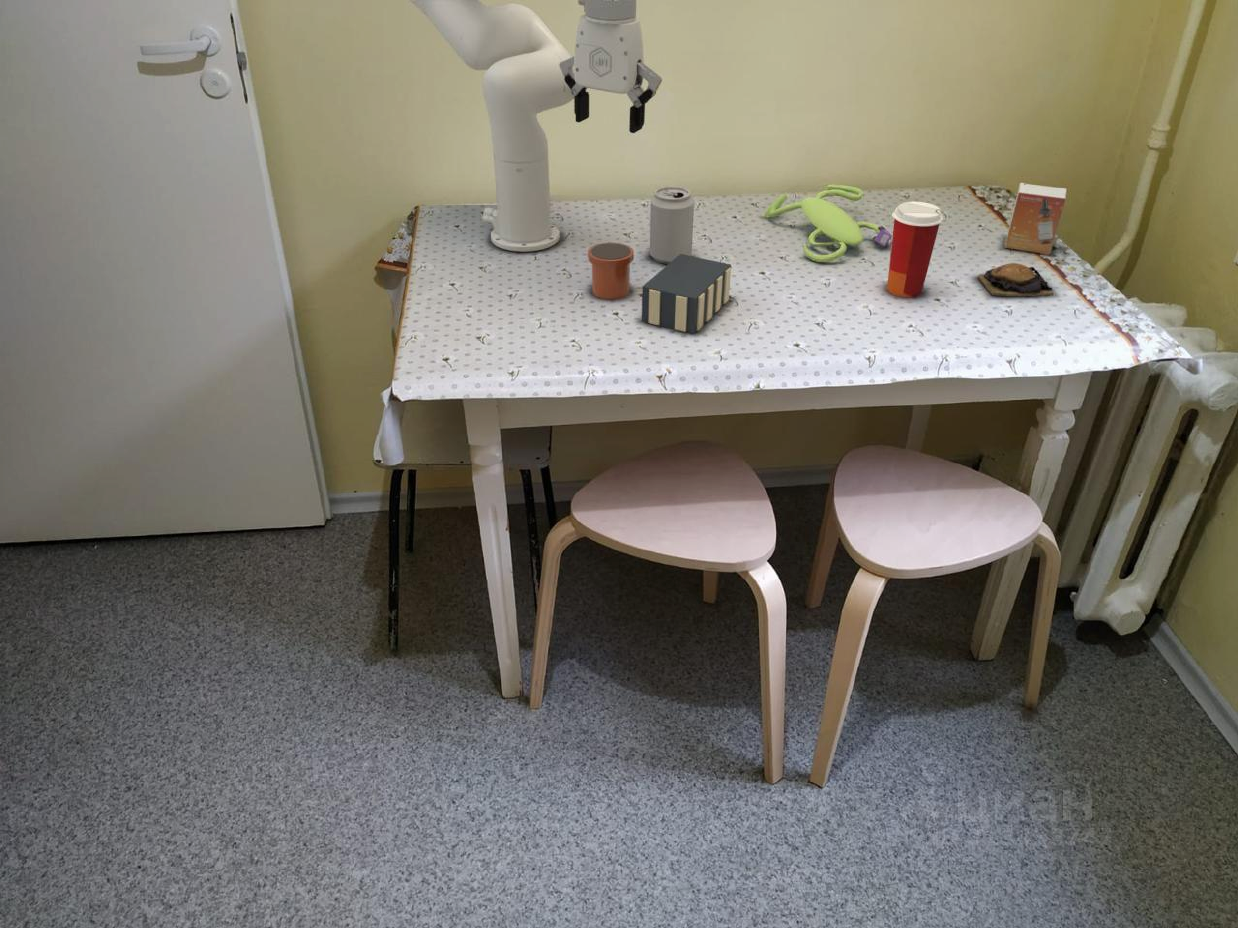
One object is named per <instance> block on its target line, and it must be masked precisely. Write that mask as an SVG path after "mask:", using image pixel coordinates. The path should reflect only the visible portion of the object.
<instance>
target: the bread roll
mask: <svg viewBox="0 0 1238 928" xmlns="http://www.w3.org/2000/svg"><path fill="white" fill-rule="evenodd" d="M978 279H979V282H981V283H982V285H983V286H984V287H985V289H986V290H987V291H988V292H989V293H990V294H991V295H992V296H1003V297H1035V298H1036V297H1037V296H1038V297H1042V296H1044V297H1045V296H1046V297H1048V296H1053V294H1054V291H1053V287H1050V286H1049V285H1048V284H1049V283H1048V282H1047V281H1045V279H1044V278H1043V276H1041V273H1040V272H1039V271H1038V270H1037V269H1035V267H1033V266H1030V267H1028V266H1026V265H1024V264H1021V263H1016V262H1010V263H1006V264H1002V265H1000V266H997V267H995V268H991V269H989V270H986V271H985V273H980V274H978V275H977V280H978Z"/></svg>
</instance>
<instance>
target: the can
mask: <svg viewBox="0 0 1238 928" xmlns="http://www.w3.org/2000/svg"><path fill="white" fill-rule="evenodd" d="M653 193H654V195H653V197H651V199H650V213H649V214H650V216H649V256H651V257H652V258H653V259H654V260H655V261H656V262H658V263H661V264H665V265H666V264H667V265H668V264H669V263H670V262H672V261H673V260H674V259H675V258H676V257H677V256H679V255H680V254H683V255H688V256H692V254H693V234H694V215H695V214H694V211H695V199H693V197H692V196H691V195H692V192H691V190H689V189H688V188H686V187H683V186H676V185H667V186H662V187H661V186H660V187H659V188H656V189H655V190H654V192H653Z"/></svg>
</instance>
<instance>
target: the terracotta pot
mask: <svg viewBox="0 0 1238 928" xmlns="http://www.w3.org/2000/svg"><path fill="white" fill-rule="evenodd" d="M634 254H635V251H634V249H633V248H632V247H631V246H630V245H627V244H625V243H619V242H601V243H598V244H594V245H592V246H591V247H590V248H588V250H587V260H588V262H589V263H590V264H591V293H592V294H593V295H594V296H595V297H596V298H599V299H604V300H618V299H622V298H625V297H627V296H628V295H629V294H630V286H631V284H630V281H631V280H630V278H631V264H632V262H633V261H634V256H635V255H634Z"/></svg>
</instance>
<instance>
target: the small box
mask: <svg viewBox="0 0 1238 928" xmlns="http://www.w3.org/2000/svg"><path fill="white" fill-rule="evenodd" d="M1067 192H1068V191H1067V188H1065V187H1052V186H1046V185H1037V184H1030V183H1025V182H1020V183H1019V186H1018V189H1017V194H1016V197H1015V200H1014V205H1013V209H1012V213H1011V216H1010V219H1009V224H1008V228H1007V233H1006V236H1005V243H1004V249H1013V250H1019V251H1024V252H1030V253H1035V254H1036V253H1037V254H1040V255H1046V256H1049V255H1051V253H1052V249H1053V246H1054V242H1055V239H1056V235H1057V231H1058V228H1059V225H1060V221H1061V217H1062V213H1063V210H1064V206H1065V203H1066V197H1067Z"/></svg>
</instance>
